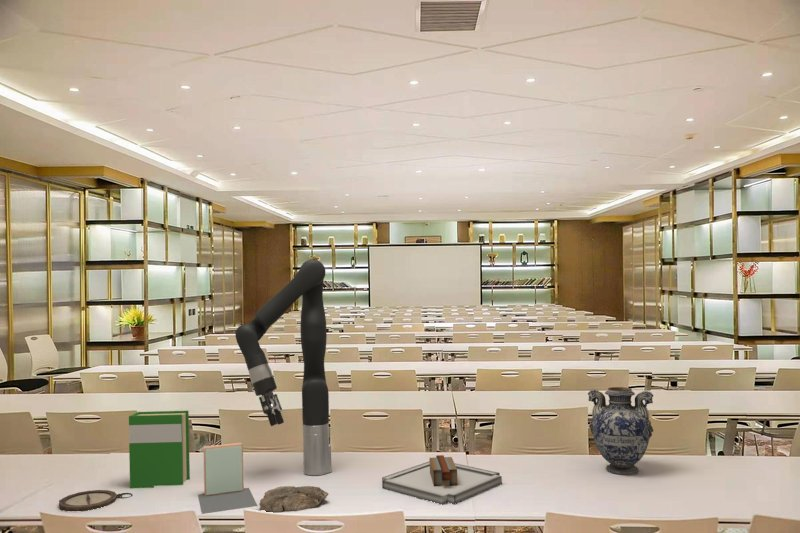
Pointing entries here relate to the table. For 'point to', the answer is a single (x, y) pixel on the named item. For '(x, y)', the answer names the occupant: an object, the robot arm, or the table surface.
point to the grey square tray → (441, 481)
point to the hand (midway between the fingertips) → (277, 424)
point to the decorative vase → (621, 428)
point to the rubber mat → (226, 501)
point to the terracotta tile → (223, 469)
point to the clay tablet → (292, 498)
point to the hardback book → (159, 448)
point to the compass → (89, 500)
